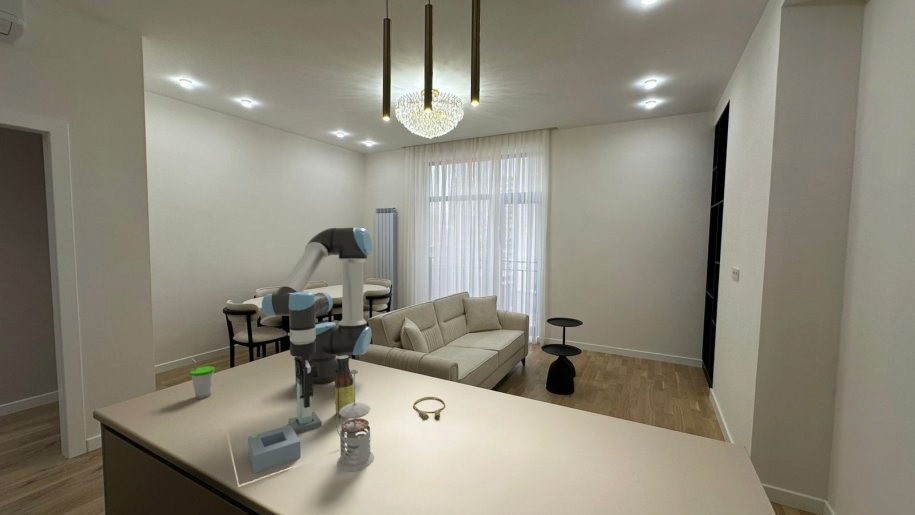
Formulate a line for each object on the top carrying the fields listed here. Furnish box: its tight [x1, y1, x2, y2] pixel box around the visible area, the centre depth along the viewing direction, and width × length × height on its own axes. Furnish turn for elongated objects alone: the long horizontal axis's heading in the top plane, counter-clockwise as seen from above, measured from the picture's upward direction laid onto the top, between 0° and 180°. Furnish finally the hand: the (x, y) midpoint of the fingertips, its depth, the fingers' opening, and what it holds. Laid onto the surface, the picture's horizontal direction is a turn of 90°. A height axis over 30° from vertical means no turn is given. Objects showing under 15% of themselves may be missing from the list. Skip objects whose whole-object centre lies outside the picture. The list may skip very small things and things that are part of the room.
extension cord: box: [412, 396, 446, 420], centre depth 127 cm, size 12×16×2 cm
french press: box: [335, 368, 375, 472], centre depth 97 cm, size 10×12×25 cm
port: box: [247, 424, 301, 474], centre depth 99 cm, size 11×11×5 cm
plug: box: [296, 376, 313, 425], centre depth 115 cm, size 4×4×16 cm
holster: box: [287, 411, 322, 435], centre depth 115 cm, size 8×8×2 cm
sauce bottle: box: [334, 354, 354, 418], centre depth 122 cm, size 7×6×20 cm
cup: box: [189, 357, 216, 400], centre depth 137 cm, size 8×8×15 cm
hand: (304, 413), depth 115 cm, fingers closed on plug, 3 cm apart
